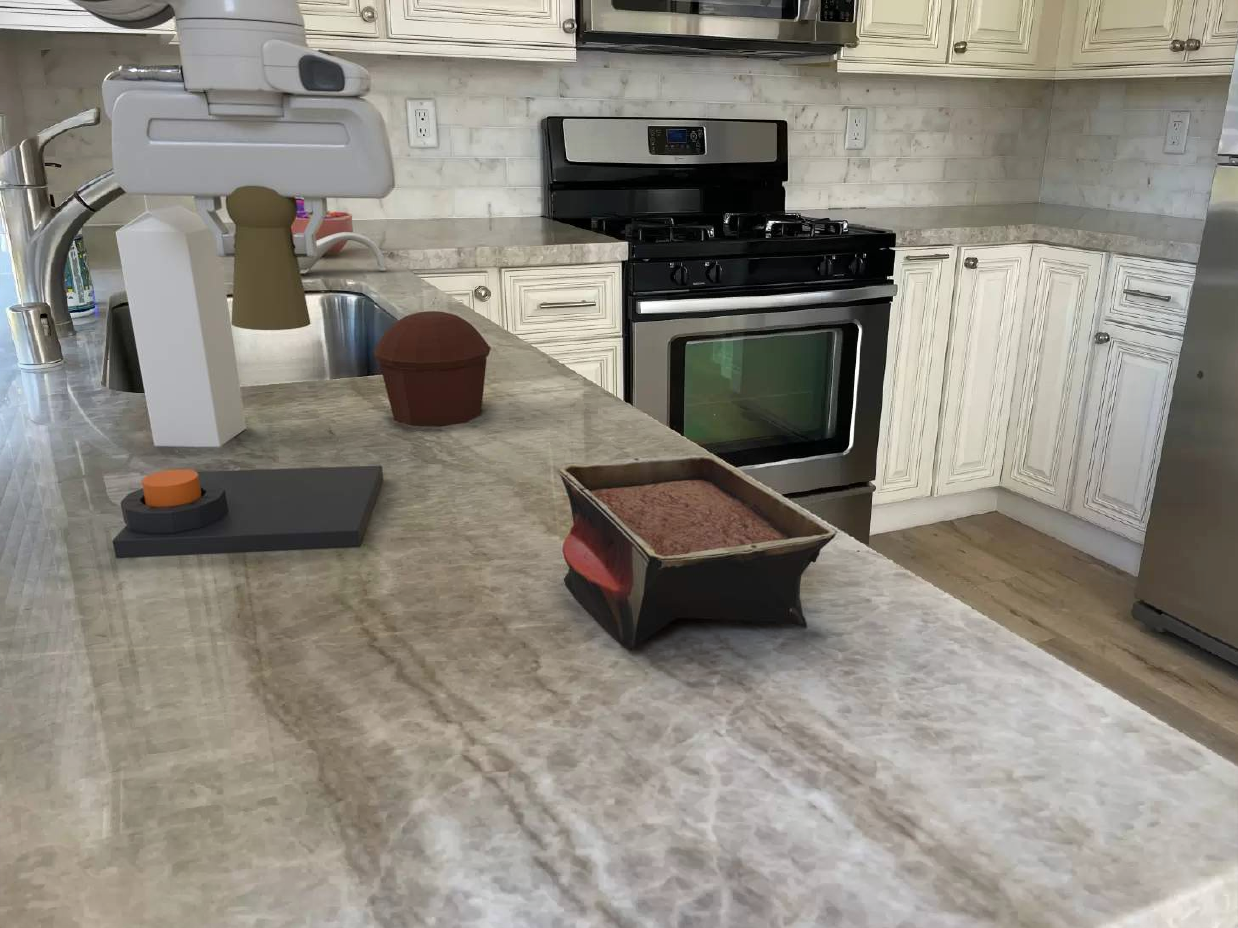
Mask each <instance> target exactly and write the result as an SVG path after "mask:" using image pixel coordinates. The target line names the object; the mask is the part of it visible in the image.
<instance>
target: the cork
mask: <svg viewBox="0 0 1238 928" xmlns="http://www.w3.org/2000/svg"><path fill="white" fill-rule="evenodd" d="M295 198H296V197H283V196H281V195H280V194H278V193H277V192H276V191H275V190H273V189H270V188H267V187H262V186H243V187H239V188H237V189H236V190H235V191H233V192H232V193H231V194H230V195H229V196H228V197H225V209H226V213H227V214H228V217H229V218H230V221H232V222H233V224H234V225H235V231H234V232H235V254H234V257H233V277H232V278H233V279H232V280H233V281H232V305H231V326H234V327H235V328H240V329H243V330H251V331H253V330H254V331H285V330H287V331H288V330H295V329H302V328H305V327H308V326H310V325H311V324H312V323H311V318H310V314H309V307H308V303H307V299H306V293H305V287H304V284H303V280H302V275H301V274H300V269H299V264H298V259H297V257H295V254H294V249H295V245H294V244H293V236H292V230H291V225H292V224H293V222H294V221H295V219H296V215H297V202H296V199H295Z"/></svg>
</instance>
